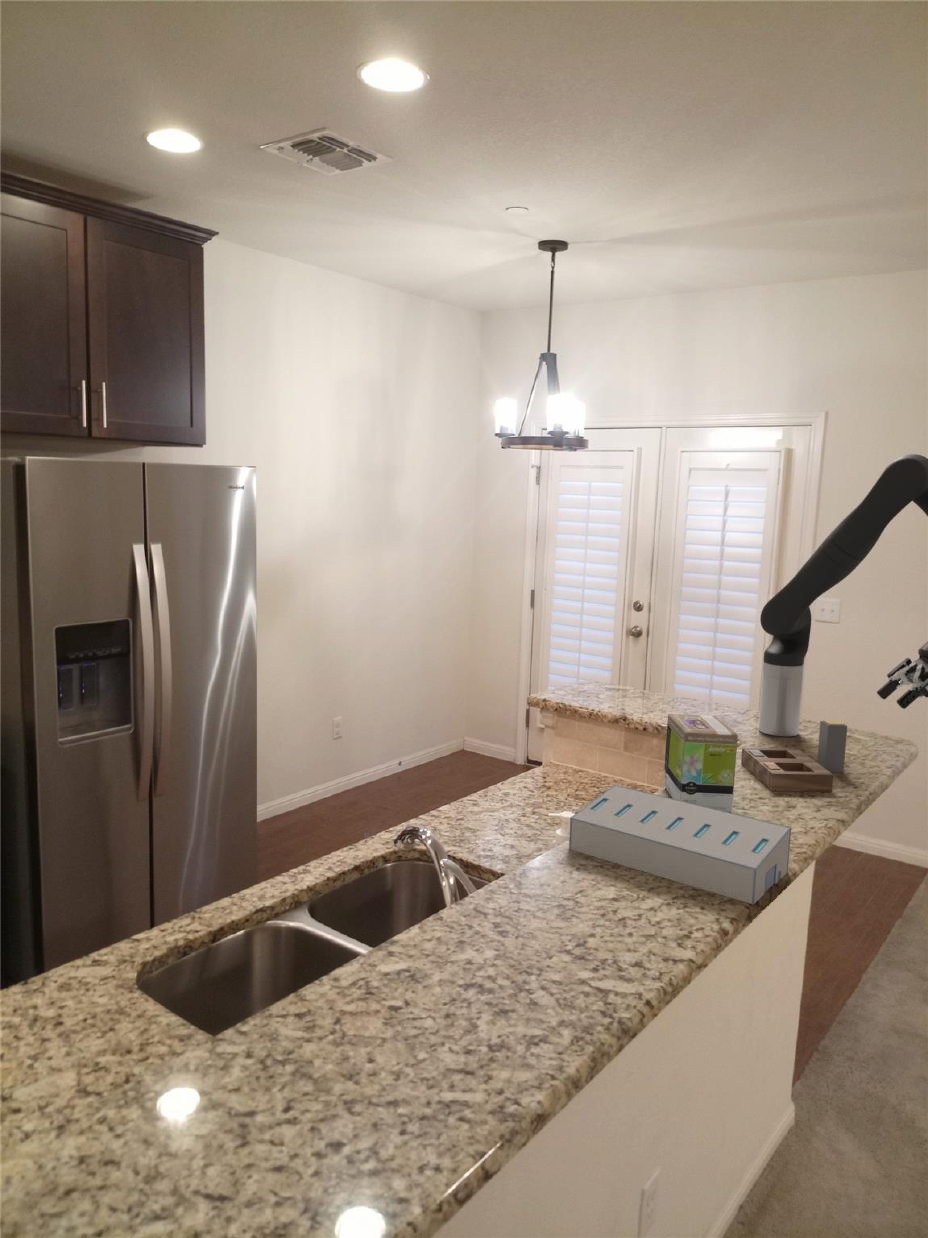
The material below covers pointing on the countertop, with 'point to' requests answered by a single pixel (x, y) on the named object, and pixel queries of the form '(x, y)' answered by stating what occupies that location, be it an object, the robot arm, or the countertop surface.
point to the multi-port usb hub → (683, 842)
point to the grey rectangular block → (832, 745)
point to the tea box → (700, 760)
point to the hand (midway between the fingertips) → (889, 700)
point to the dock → (786, 770)
